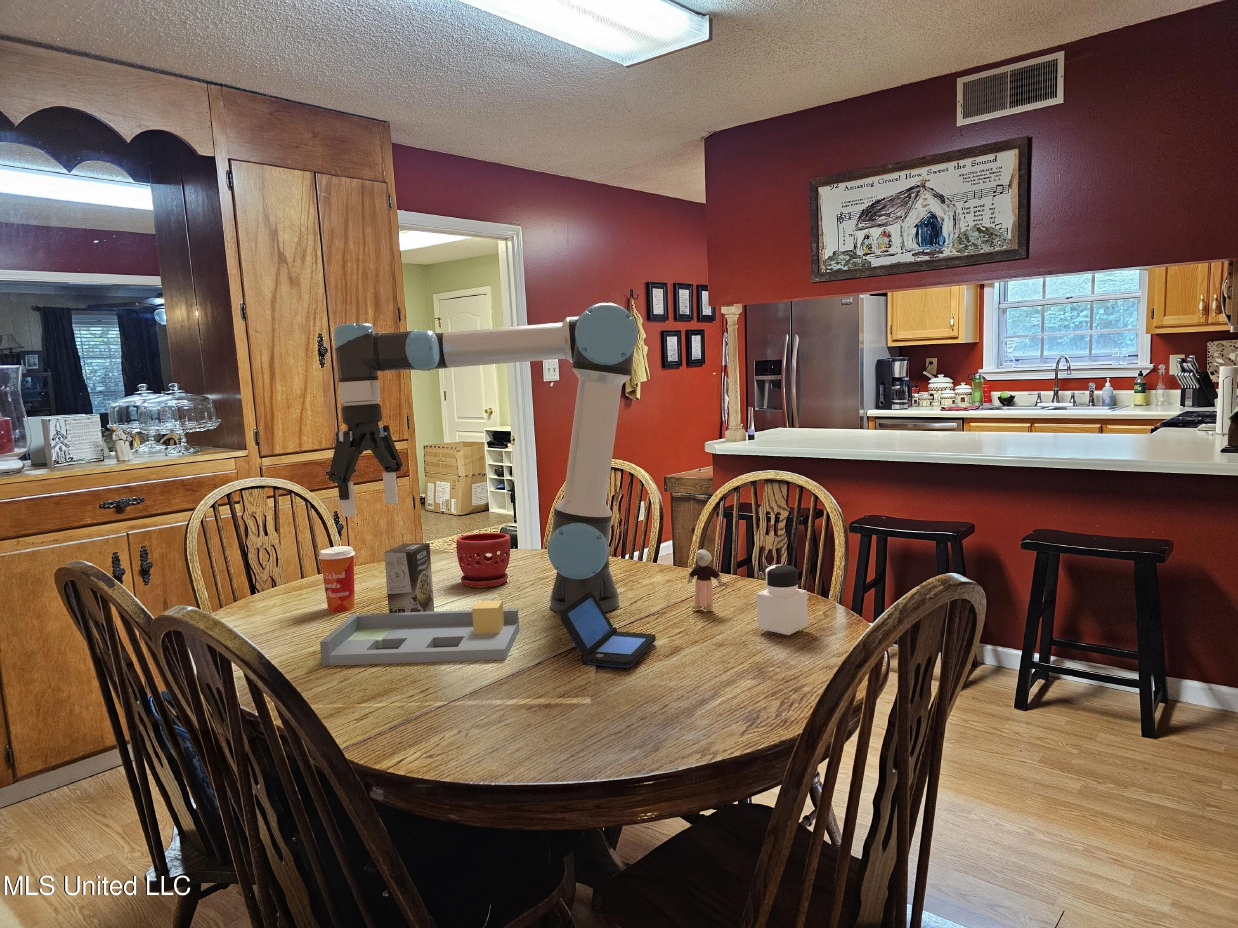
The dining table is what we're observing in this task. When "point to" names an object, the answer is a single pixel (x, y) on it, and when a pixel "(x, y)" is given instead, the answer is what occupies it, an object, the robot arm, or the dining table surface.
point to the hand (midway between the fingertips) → (371, 509)
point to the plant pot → (483, 559)
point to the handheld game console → (602, 635)
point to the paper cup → (338, 578)
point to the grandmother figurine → (704, 581)
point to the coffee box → (409, 578)
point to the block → (488, 617)
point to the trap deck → (416, 638)
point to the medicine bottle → (782, 602)
